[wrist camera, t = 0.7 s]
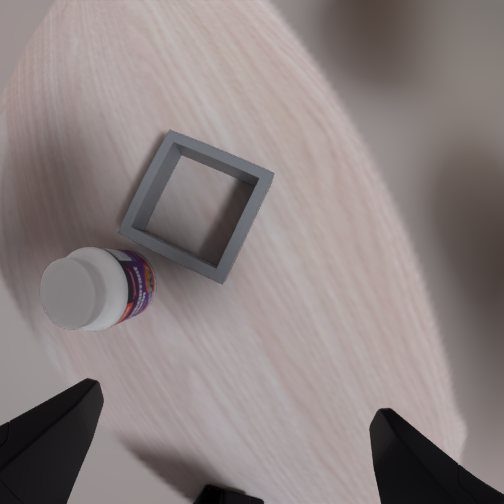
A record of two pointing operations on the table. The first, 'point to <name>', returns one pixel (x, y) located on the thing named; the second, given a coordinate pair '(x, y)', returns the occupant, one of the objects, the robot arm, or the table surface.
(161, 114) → the table surface
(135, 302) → the pill bottle
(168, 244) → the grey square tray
